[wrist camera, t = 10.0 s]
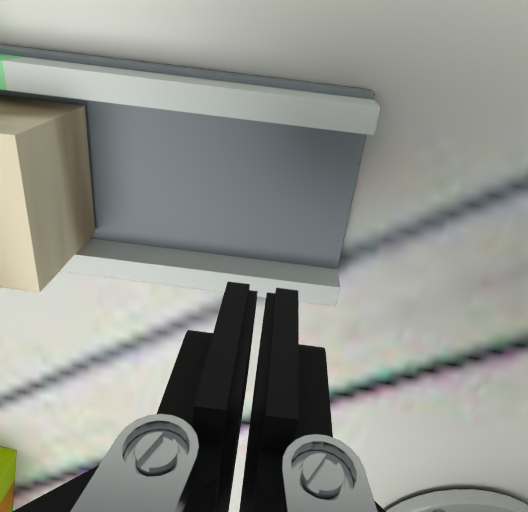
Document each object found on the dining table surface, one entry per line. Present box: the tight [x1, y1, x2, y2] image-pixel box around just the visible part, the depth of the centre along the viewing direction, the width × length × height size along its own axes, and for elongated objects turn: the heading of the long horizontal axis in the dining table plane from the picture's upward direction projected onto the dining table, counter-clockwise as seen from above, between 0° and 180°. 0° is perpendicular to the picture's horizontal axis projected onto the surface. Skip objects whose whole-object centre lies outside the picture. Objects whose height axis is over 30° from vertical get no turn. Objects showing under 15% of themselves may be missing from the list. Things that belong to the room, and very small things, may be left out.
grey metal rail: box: [0, 44, 381, 306], centre depth 19 cm, size 25×9×3 cm, turn 84°
